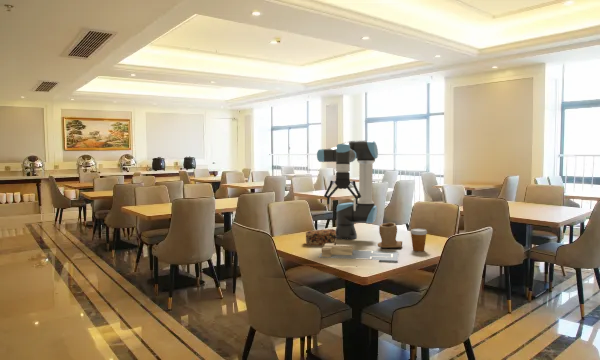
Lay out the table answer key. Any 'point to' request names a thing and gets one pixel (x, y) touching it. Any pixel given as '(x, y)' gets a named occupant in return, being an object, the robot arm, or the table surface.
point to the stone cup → (389, 236)
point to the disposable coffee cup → (418, 239)
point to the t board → (369, 255)
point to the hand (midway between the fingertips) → (342, 210)
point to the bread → (320, 237)
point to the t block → (336, 250)
